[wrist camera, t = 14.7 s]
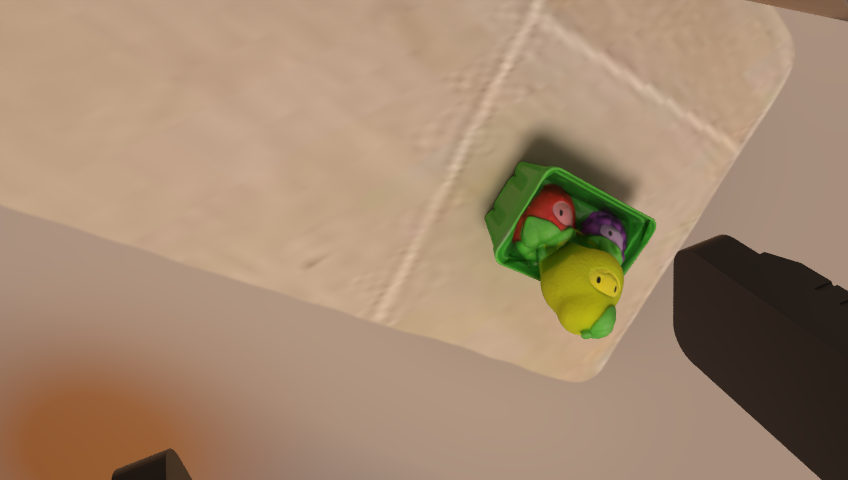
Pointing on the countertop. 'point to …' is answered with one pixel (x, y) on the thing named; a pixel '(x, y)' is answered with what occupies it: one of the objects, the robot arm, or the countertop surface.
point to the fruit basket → (568, 243)
